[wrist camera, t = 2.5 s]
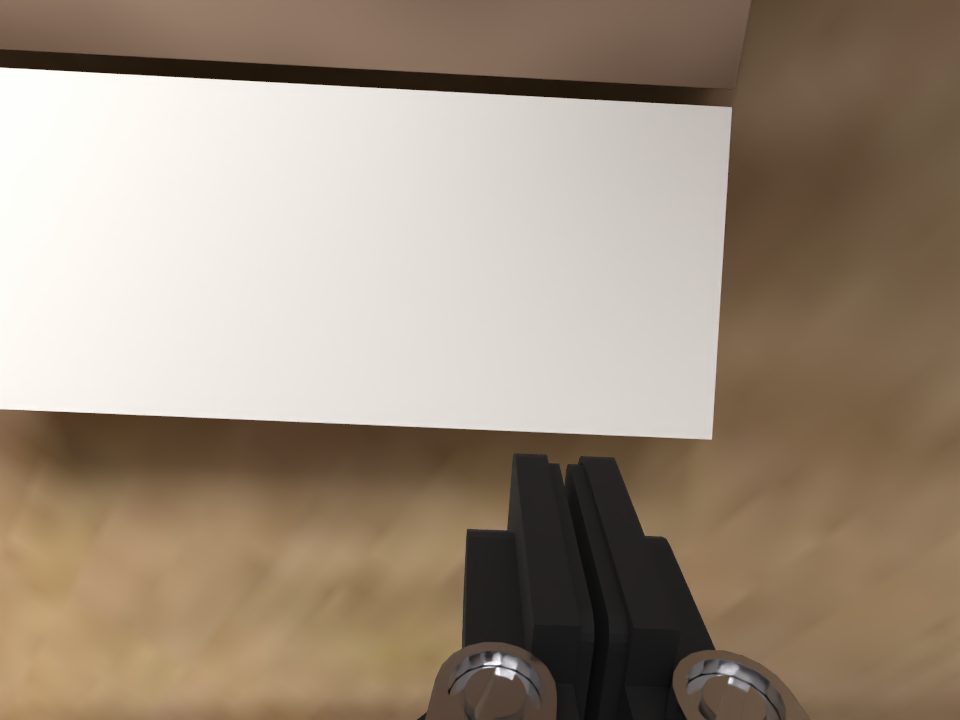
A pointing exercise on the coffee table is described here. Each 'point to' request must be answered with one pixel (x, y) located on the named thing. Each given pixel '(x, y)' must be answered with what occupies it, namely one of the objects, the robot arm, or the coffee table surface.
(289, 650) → the coffee table surface
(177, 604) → the coffee table surface
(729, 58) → the walnut plank
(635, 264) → the off-white plank
